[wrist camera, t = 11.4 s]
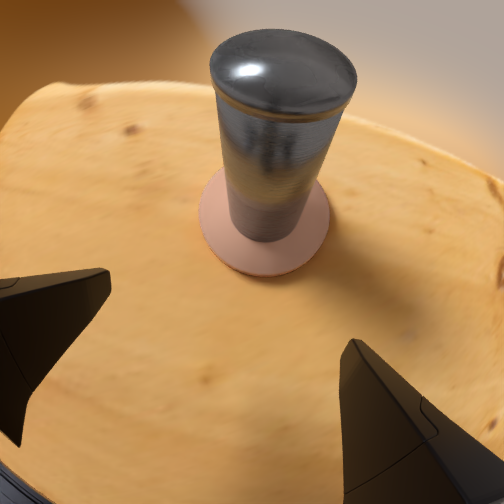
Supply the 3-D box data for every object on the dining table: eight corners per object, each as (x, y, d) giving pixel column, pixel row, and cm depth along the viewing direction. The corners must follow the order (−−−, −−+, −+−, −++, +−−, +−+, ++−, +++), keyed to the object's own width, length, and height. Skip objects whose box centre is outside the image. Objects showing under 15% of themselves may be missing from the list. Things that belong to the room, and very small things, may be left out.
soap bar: (344, 255, 20) (349, 251, 19) (219, 293, 19) (218, 291, 18) (300, 151, 22) (301, 144, 21) (189, 178, 21) (187, 172, 20)
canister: (316, 211, 20) (382, 76, 8) (263, 259, 19) (290, 136, 7) (265, 165, 21) (280, 19, 9) (212, 207, 20) (180, 61, 8)
